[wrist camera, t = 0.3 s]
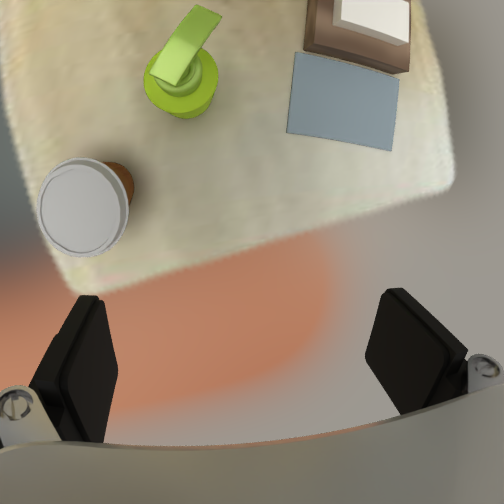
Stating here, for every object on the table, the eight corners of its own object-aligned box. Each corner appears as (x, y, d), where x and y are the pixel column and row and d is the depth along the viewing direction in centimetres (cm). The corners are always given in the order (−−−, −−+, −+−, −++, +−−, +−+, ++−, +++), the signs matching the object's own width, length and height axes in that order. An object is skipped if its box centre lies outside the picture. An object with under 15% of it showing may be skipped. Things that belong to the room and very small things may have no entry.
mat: (295, 52, 34) (295, 51, 34) (398, 79, 37) (399, 79, 36) (286, 132, 38) (286, 132, 37) (390, 151, 40) (391, 151, 40)
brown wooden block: (311, -36, 29) (321, -48, 25) (395, -8, 31) (410, -16, 28) (303, 50, 34) (314, 43, 30) (392, 74, 36) (409, 71, 32)
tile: (334, -15, 27) (343, -22, 25) (398, 7, 29) (408, 2, 27) (332, 25, 29) (340, 19, 27) (397, 45, 31) (408, 42, 29)
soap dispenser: (226, 77, 34) (252, 29, 16) (196, 127, 36) (191, 124, 17) (183, 56, 32) (168, -11, 14) (153, 105, 34) (106, 83, 16)
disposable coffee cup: (153, 155, 36) (133, 167, 25) (140, 230, 39) (119, 270, 28) (81, 144, 34) (37, 153, 23) (71, 218, 37) (31, 252, 26)
